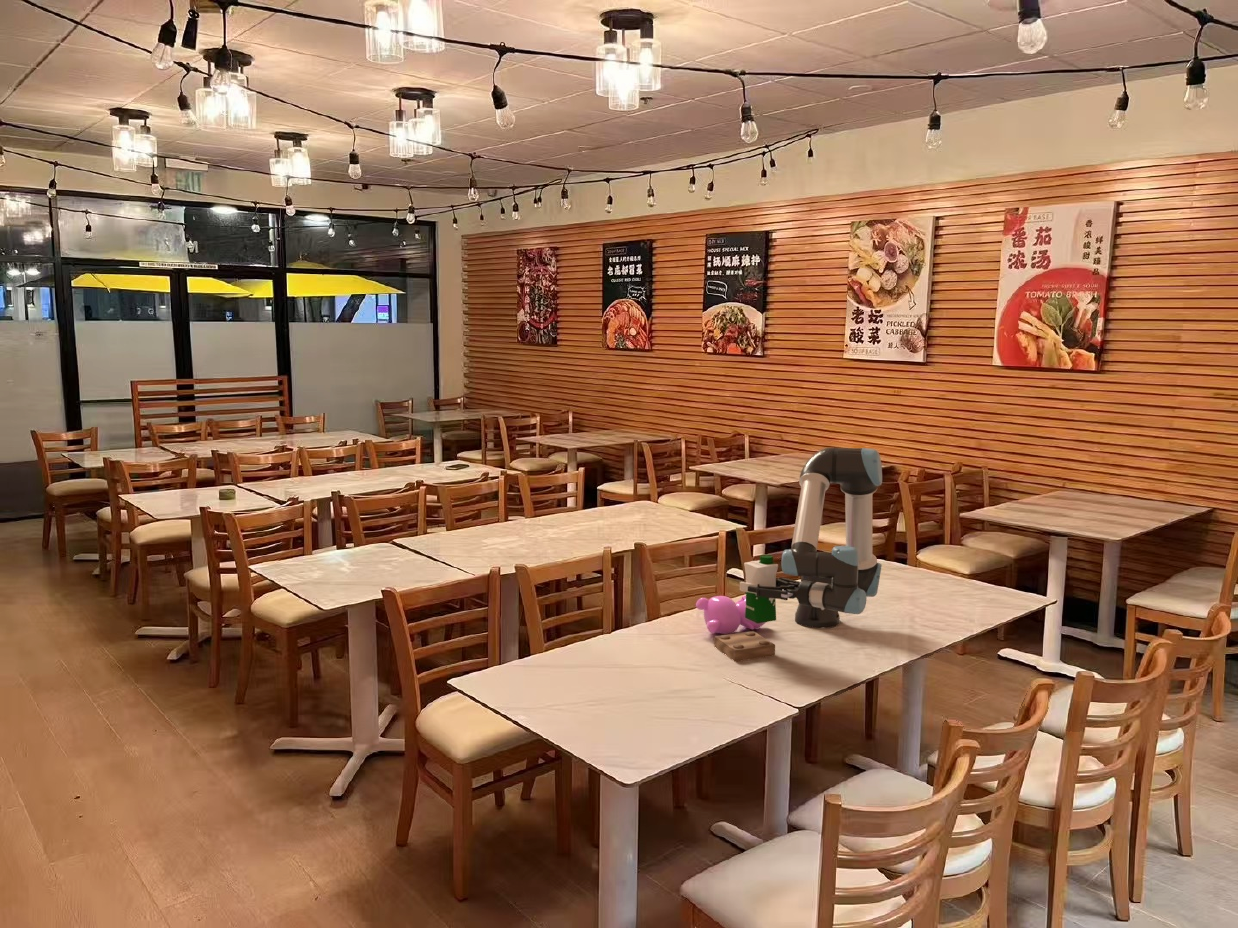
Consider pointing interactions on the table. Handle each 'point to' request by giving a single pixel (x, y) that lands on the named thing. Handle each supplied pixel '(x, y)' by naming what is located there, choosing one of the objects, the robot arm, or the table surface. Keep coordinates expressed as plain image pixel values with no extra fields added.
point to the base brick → (744, 646)
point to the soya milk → (764, 576)
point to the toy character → (725, 614)
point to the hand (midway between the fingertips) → (747, 582)
